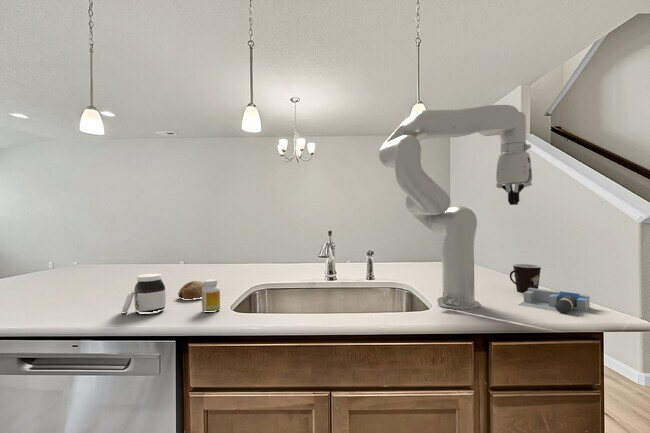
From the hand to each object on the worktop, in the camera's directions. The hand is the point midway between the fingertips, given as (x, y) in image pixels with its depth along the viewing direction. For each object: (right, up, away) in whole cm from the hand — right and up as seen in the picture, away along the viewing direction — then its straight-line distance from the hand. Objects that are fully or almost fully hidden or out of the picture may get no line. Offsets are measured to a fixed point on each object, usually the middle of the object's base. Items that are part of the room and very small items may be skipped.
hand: (513, 204), depth 116 cm
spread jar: (-121, -34, -8) cm, 126 cm away
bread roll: (-112, -34, +10) cm, 117 cm away
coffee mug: (+8, -32, +8) cm, 34 cm away
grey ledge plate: (+6, -32, -11) cm, 34 cm away
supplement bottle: (-100, -34, -8) cm, 105 cm away
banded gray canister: (+7, -32, -15) cm, 36 cm away
